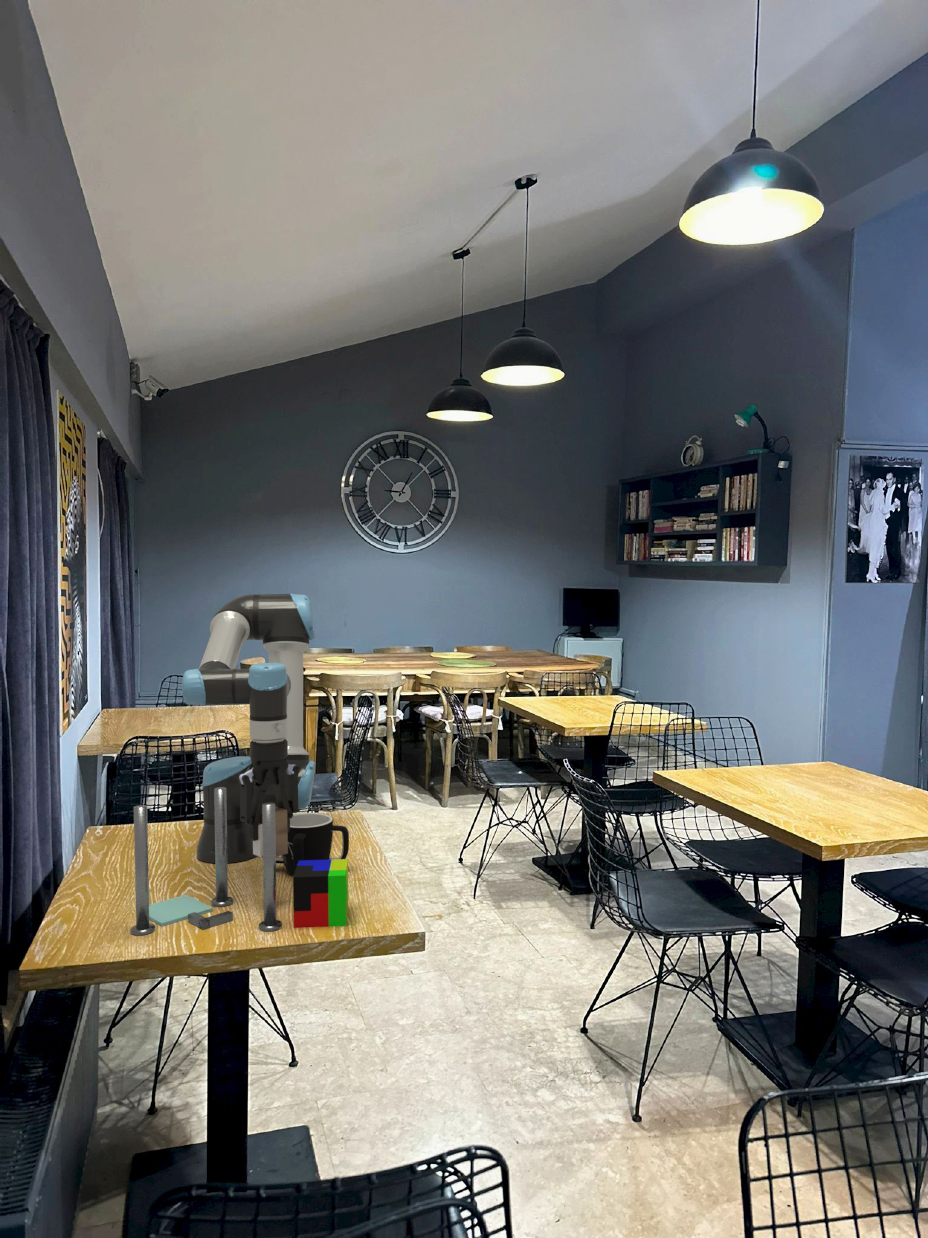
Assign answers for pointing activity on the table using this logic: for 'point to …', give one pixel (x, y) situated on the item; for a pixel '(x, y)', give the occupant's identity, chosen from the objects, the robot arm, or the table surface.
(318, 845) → the mug
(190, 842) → the table surface
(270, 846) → the post
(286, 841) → the walnut block
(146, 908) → the post
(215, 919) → the gray corner bracket
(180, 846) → the table surface
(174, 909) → the pad
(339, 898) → the puzzle toy
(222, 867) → the post
